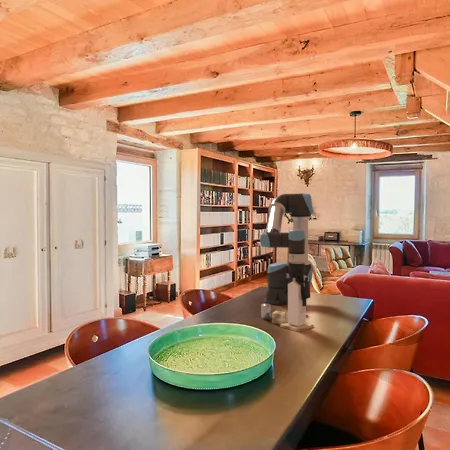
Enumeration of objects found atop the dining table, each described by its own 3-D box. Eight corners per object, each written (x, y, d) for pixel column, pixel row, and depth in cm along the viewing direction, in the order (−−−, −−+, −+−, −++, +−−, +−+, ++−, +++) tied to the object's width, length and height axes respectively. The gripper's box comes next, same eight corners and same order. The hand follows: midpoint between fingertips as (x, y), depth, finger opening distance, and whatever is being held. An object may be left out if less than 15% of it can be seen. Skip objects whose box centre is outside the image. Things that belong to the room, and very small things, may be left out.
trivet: (280, 326, 175) (280, 324, 175) (294, 321, 183) (294, 319, 183) (299, 332, 167) (299, 329, 167) (313, 326, 175) (313, 324, 175)
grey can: (259, 318, 190) (259, 304, 190) (265, 316, 193) (265, 302, 193) (266, 320, 186) (266, 306, 186) (273, 318, 190) (273, 304, 189)
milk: (305, 323, 175) (306, 277, 174) (298, 326, 171) (298, 279, 170) (295, 321, 179) (295, 275, 179) (287, 323, 175) (287, 277, 174)
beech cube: (271, 323, 182) (271, 312, 182) (276, 320, 186) (276, 310, 186) (281, 324, 179) (281, 314, 179) (285, 322, 183) (285, 312, 183)
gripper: (275, 261, 178) (276, 309, 179) (309, 265, 165) (309, 317, 165) (285, 259, 184) (285, 306, 184) (318, 263, 170) (318, 313, 170)
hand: (296, 311), depth 175 cm, fingers closed on milk, 6 cm apart
